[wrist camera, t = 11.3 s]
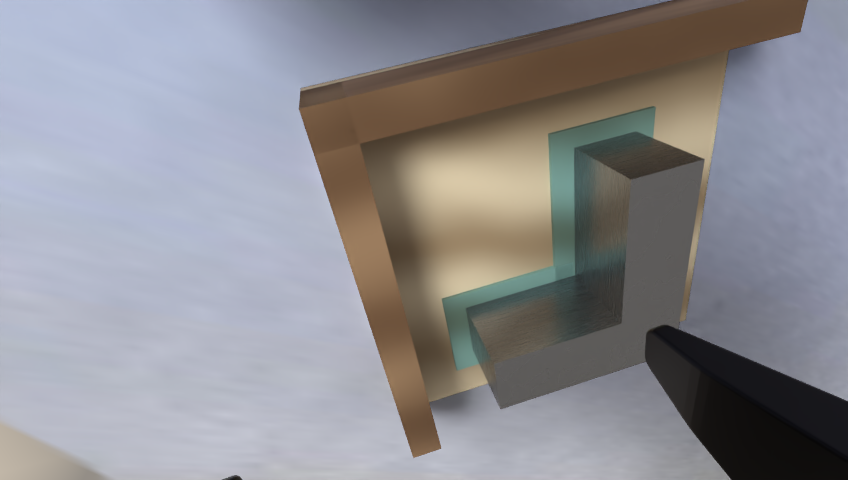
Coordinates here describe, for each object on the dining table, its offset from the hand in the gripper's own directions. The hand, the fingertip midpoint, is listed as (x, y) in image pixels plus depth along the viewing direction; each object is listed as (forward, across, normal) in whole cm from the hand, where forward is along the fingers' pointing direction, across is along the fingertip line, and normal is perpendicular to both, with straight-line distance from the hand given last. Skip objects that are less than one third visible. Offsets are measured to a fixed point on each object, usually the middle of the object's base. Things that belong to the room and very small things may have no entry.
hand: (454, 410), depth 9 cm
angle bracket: (+11, -7, +5) cm, 14 cm away
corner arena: (+12, -7, +4) cm, 14 cm away
